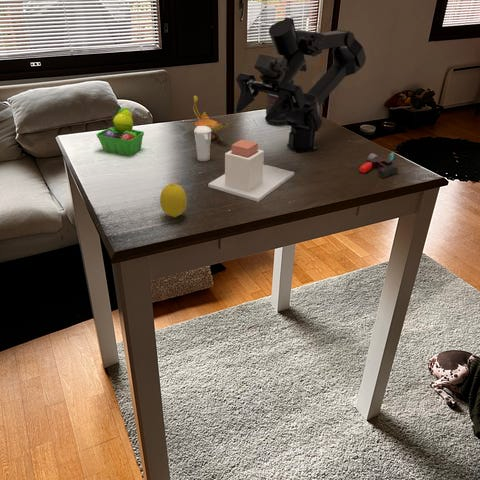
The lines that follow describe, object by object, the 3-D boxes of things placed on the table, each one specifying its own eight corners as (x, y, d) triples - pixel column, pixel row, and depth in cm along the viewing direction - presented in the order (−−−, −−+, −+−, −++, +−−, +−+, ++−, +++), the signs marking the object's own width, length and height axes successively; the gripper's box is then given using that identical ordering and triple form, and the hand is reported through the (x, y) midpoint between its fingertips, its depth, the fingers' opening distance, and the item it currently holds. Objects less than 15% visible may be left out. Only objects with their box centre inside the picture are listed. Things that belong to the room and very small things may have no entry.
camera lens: (263, 125, 155) (265, 78, 147) (266, 118, 161) (268, 72, 153) (288, 127, 153) (292, 79, 146) (290, 119, 160) (293, 73, 152)
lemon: (162, 211, 104) (159, 178, 100) (187, 210, 105) (186, 177, 100) (160, 224, 100) (158, 189, 95) (187, 223, 100) (185, 188, 96)
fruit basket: (97, 152, 133) (91, 112, 127) (115, 141, 140) (110, 103, 134) (132, 158, 130) (127, 117, 124) (149, 147, 137) (145, 108, 131)
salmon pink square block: (241, 151, 114) (241, 139, 112) (257, 155, 112) (257, 143, 110) (231, 157, 111) (231, 144, 109) (247, 161, 109) (247, 148, 107)
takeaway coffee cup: (212, 163, 127) (211, 127, 122) (193, 161, 128) (191, 125, 123) (216, 157, 131) (216, 121, 126) (197, 155, 132) (196, 120, 127)
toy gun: (372, 159, 133) (375, 142, 130) (402, 175, 124) (406, 158, 121) (344, 164, 129) (346, 147, 127) (372, 182, 120) (375, 164, 117)
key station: (247, 162, 128) (248, 131, 123) (294, 175, 122) (296, 142, 117) (208, 186, 115) (207, 152, 110) (258, 201, 109) (259, 166, 104)
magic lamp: (216, 149, 136) (216, 111, 130) (184, 132, 148) (183, 96, 142) (236, 145, 139) (236, 107, 133) (203, 128, 152) (202, 93, 146)
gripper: (246, 38, 118) (210, 83, 114) (309, 49, 108) (271, 98, 104) (260, 73, 127) (227, 116, 123) (319, 86, 116) (285, 133, 113)
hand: (251, 115), depth 115 cm, fingers open, 9 cm apart
